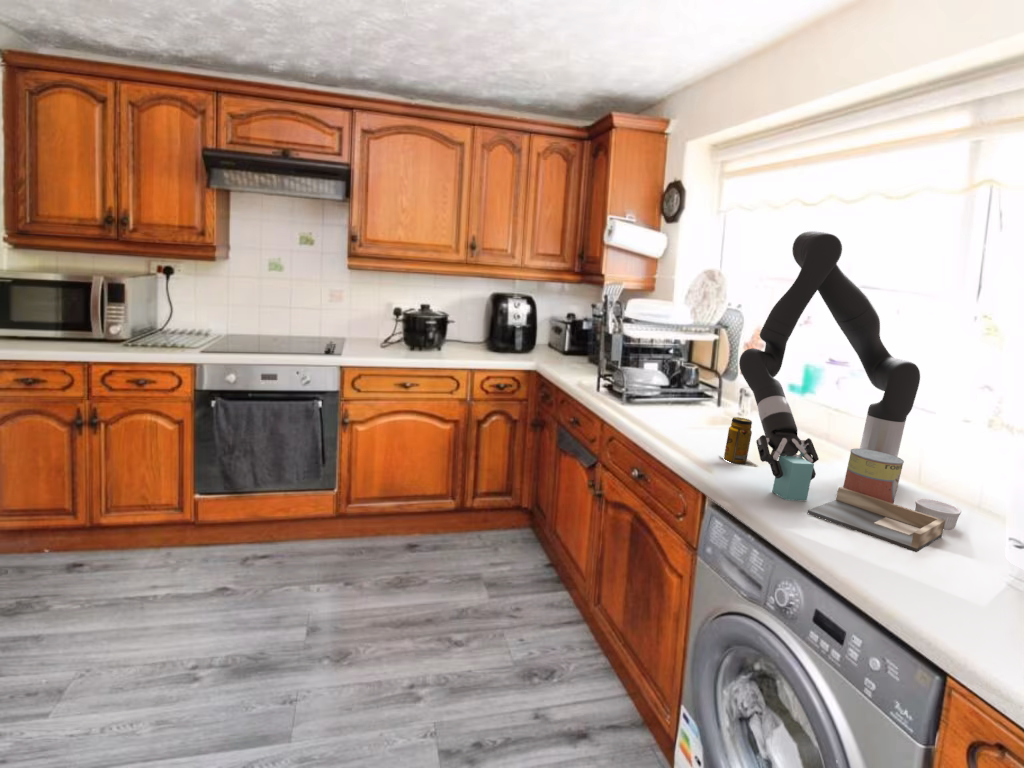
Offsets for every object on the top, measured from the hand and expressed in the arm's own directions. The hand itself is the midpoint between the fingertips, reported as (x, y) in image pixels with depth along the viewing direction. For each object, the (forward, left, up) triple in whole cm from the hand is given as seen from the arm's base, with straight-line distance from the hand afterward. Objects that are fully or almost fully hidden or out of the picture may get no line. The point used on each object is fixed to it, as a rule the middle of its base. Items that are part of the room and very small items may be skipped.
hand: (795, 477), depth 157 cm
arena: (-1, +18, -5) cm, 19 cm away
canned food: (-16, +11, -5) cm, 20 cm away
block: (-1, -1, -5) cm, 5 cm away
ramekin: (-18, +25, -5) cm, 31 cm away
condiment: (-16, -23, -5) cm, 28 cm away
